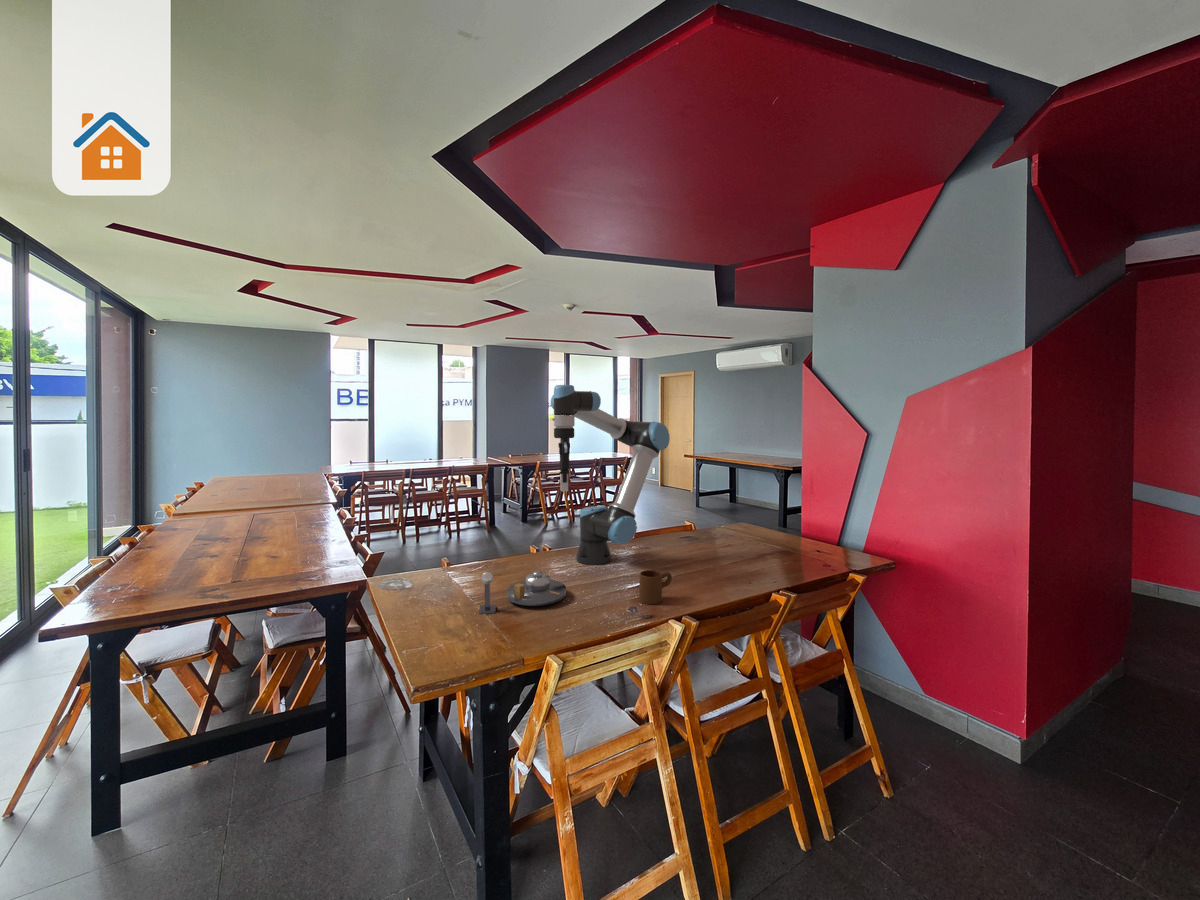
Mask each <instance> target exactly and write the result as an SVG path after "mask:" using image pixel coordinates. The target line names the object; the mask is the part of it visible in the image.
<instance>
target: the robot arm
mask: <svg viewBox="0 0 1200 900" xmlns="http://www.w3.org/2000/svg"><path fill="white" fill-rule="evenodd" d="M601 404H602V402H601V396H600V394H599V393H598V392H597V391H592V390H590V391H585V390H584V391H583V390H581V391H580V390H578V391H577V390H575V386H574V385H573V384H572V385H571V384H558V385H557V384H556V385H554V388H553V395H552V396H551V398H550V406H551V408H552V409H553V417H552V419H551V421H553V426H554V428H553V437H554V439H560V440H559V441H560V442H558V444H557V445H558V451H559V452H558V454H559V472H558V473H559V475H560V492H568V491H569V474H570V470H569V469H570V448H571V443H570V442H569V439H573V438H575V424H576V423H575V422H576V421H575V418H576V419H578V420H580V421H583V422H584V423H586V424H589V425H590V426H593V427H595V428H596V429H599V430H601V431H603V432H605V433H607V434H609V435H610V437H611V438H612V439H614V440H616V441H618V442H620V443H622V444H624V445H626V446H628V447H631V448H632V450H633V454H632V457H631V459H630V462H629V465H628V467H627V469H626V472H625V475H624V476H623V477H624V478H623V479H622V482H621V484H620V488H619V489H618V492H617V495H616V497H615V500H614V503H611V504H609V506H608V507H607V506H606V505H596V506H595V505H594V506H587V507H586V506H585V507H583V508H581V509H580V515H579V531H580V534H579V535H580V537H579V545H578V548H577V551H576V554H575V559H576V562H577V563H580V564H583V565H588V566H591V565H593V566H595V565H596V566H597V565H604V564H607V563H610V562H611V561H612V553H611V549H610V546H609V544H608V541H609V542H611V543H613V544H619V545H625V544H627V543H629V542H630V541H632V540H633V538H634V537H635V535H636V533H637V529H638V526H637V521H636V513H635V511H634V510H635V508H636V505H637V503H638V501H639V497H640V495H641V492H642V489H643V486H644V484H645V481H646V479H647V477H648V474H649V470H650V468H651V466H652V463H653V460H654V459H656V458H658V457H659V455H660V452H661V451H663V450H666V449H667V448H668V447H669V444H670V439H671V438H670V433H669V430H668V429H669V428H667V426H666V425H665V424H664V423H663V422H659V421H658V422H657V421H633V420H631V421H630V420H627V419H625V418H621V417H620V418H618V417H615V416H613V415H612V414H610V413H607V412H606V411H604V410H601V409H600V407H601Z"/></svg>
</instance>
